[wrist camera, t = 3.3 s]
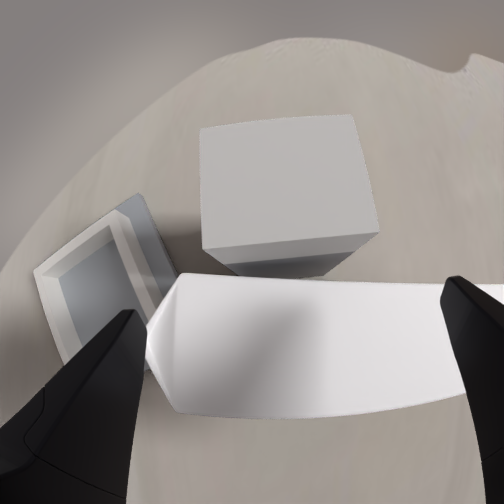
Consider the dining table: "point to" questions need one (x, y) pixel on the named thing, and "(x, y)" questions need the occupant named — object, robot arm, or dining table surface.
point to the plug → (284, 195)
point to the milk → (301, 346)
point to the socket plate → (104, 276)
